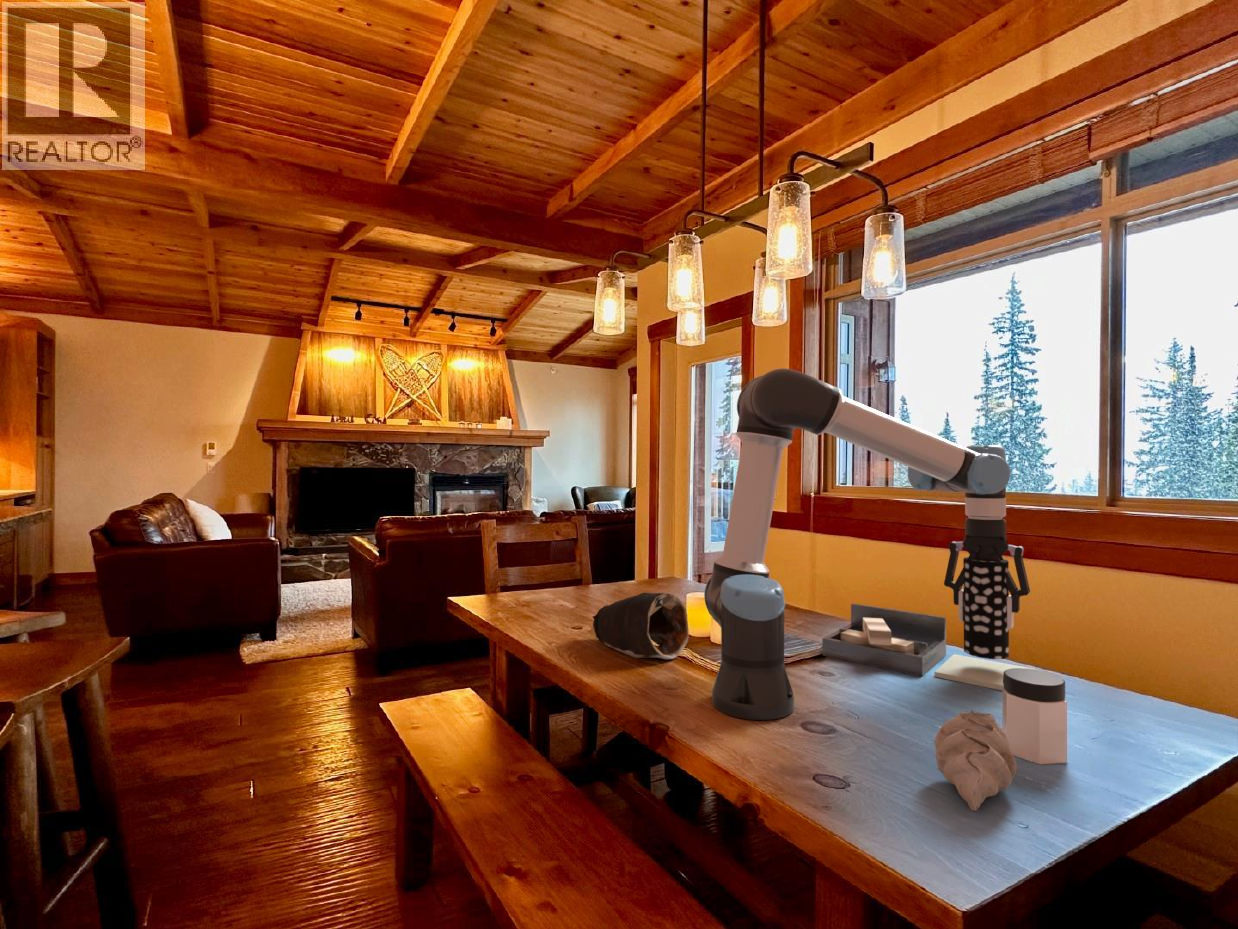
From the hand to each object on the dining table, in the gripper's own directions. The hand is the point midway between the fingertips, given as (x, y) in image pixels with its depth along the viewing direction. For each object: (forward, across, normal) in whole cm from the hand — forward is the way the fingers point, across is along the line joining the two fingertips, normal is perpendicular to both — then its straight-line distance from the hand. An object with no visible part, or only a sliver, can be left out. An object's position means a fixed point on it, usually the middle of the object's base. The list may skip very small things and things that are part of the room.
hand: (985, 623), depth 133 cm
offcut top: (+6, +21, +5) cm, 22 cm away
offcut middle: (+9, +21, +5) cm, 23 cm away
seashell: (+11, -9, +54) cm, 56 cm away
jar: (+11, -13, +35) cm, 39 cm away
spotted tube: (+7, 0, 0) cm, 7 cm away
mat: (+11, 0, 0) cm, 11 cm away
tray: (+11, +21, 0) cm, 24 cm away
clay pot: (+11, +69, +35) cm, 78 cm away
